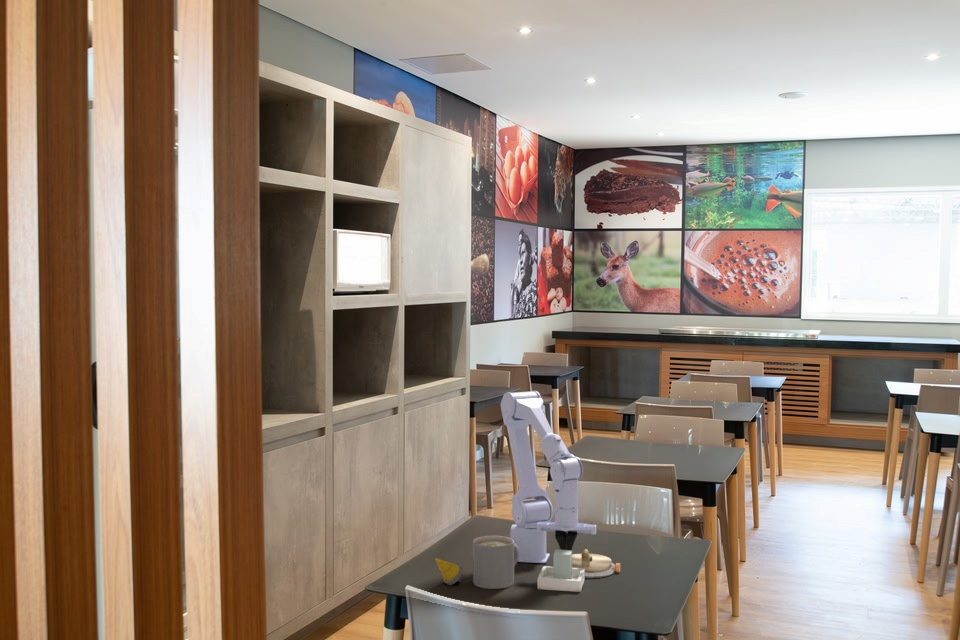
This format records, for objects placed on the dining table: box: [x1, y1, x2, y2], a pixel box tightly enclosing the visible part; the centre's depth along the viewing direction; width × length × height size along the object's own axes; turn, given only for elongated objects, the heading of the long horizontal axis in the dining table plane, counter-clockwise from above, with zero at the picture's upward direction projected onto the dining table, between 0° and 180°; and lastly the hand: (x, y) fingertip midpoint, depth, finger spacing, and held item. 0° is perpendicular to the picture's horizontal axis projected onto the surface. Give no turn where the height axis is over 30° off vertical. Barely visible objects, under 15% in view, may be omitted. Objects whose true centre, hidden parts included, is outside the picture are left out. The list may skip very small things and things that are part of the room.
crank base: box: [585, 562, 621, 579], centre depth 220 cm, size 15×14×2 cm
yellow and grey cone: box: [434, 557, 465, 586], centre depth 209 cm, size 5×5×10 cm
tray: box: [537, 565, 586, 593], centre depth 209 cm, size 10×10×2 cm
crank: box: [572, 548, 613, 572], centre depth 220 cm, size 13×12×5 cm
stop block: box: [552, 549, 573, 579], centre depth 209 cm, size 4×4×7 cm
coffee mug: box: [472, 535, 519, 590], centre depth 211 cm, size 13×10×10 cm
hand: (566, 561), depth 217 cm, fingers closed
